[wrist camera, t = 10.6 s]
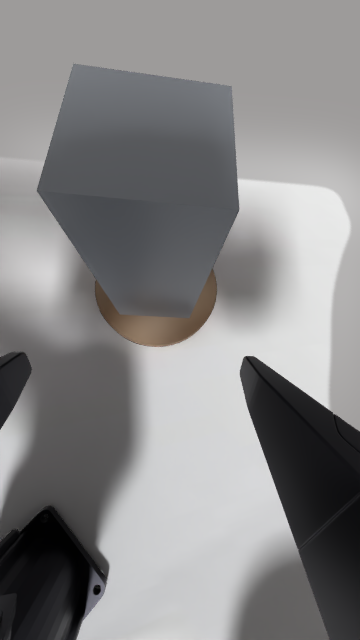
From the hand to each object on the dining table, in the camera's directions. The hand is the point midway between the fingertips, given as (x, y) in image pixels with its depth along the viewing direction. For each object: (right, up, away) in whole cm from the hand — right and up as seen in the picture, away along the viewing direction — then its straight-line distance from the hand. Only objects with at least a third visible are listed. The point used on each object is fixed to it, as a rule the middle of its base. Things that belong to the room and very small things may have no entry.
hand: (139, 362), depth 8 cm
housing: (0, +5, +10) cm, 11 cm away
